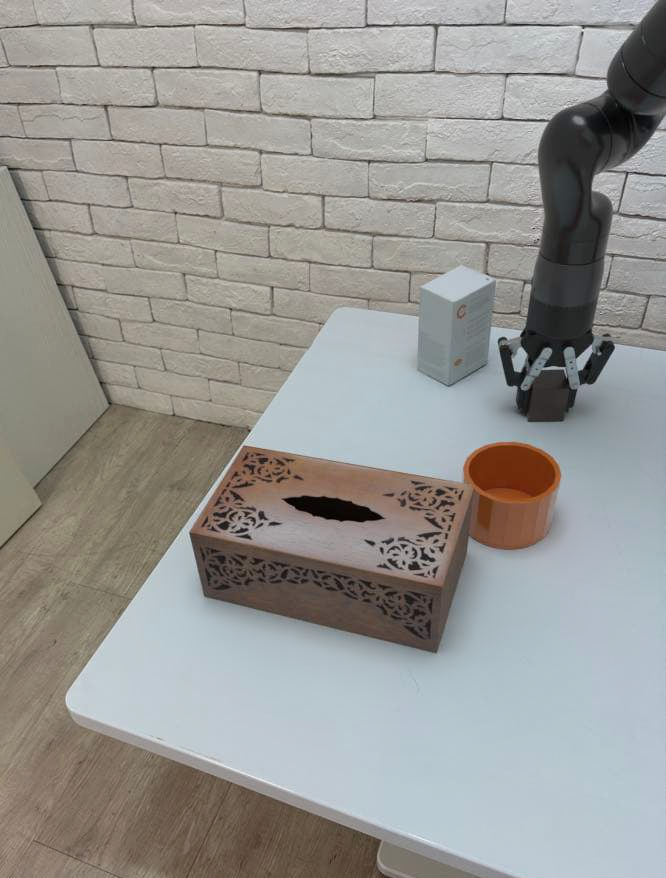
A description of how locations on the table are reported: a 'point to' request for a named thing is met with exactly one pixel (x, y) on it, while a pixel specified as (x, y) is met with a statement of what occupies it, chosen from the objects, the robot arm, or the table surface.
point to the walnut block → (548, 396)
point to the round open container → (511, 494)
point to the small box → (455, 324)
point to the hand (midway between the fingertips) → (543, 408)
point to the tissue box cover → (335, 544)
